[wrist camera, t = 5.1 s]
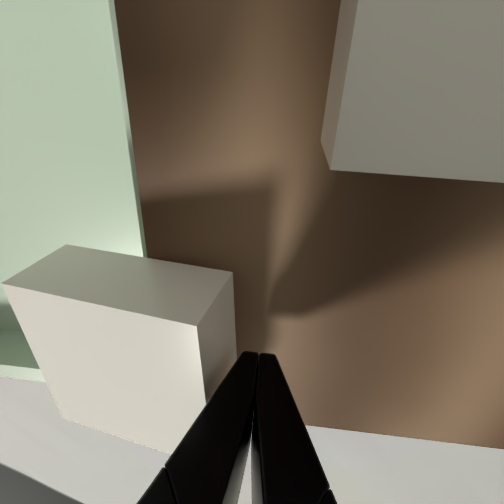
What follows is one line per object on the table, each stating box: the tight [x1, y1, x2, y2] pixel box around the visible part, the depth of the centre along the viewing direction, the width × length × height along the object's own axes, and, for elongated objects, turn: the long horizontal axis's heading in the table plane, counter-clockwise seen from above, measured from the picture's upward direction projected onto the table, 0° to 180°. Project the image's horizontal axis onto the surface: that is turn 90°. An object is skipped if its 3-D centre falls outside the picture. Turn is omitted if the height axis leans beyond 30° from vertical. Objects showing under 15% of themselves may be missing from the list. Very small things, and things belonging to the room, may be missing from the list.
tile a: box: [1, 244, 237, 455], centre depth 9 cm, size 5×5×2 cm
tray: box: [0, 0, 147, 382], centre depth 11 cm, size 11×19×2 cm, turn 177°
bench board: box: [114, 0, 504, 449], centre depth 9 cm, size 12×16×4 cm
